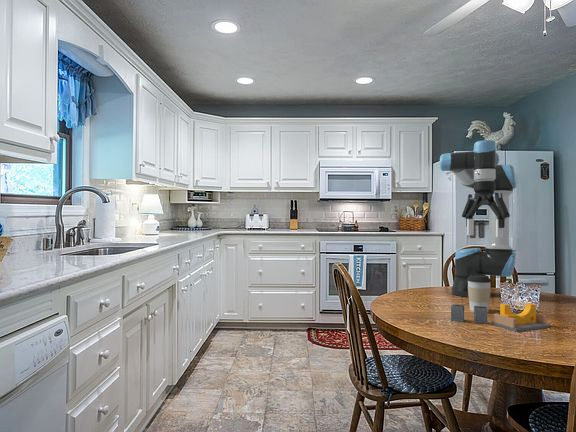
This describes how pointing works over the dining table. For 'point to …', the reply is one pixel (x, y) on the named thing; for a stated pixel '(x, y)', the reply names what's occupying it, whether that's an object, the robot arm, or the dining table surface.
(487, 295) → the coffee cup
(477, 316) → the block
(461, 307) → the block
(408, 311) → the dining table surface
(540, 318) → the end holder
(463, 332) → the dining table surface
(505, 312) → the pipe clamp
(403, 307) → the dining table surface
